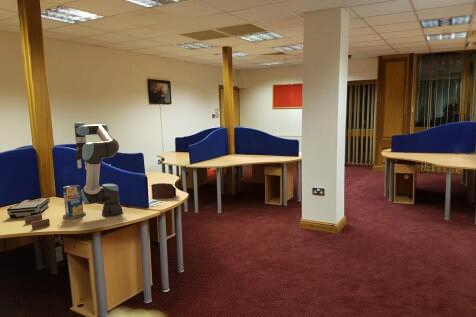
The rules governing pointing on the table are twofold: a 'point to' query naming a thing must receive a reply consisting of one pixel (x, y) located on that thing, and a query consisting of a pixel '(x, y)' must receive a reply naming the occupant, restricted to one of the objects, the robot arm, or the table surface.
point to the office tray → (28, 208)
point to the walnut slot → (37, 221)
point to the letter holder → (163, 191)
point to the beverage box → (73, 200)
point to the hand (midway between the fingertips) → (83, 168)
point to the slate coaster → (74, 216)
